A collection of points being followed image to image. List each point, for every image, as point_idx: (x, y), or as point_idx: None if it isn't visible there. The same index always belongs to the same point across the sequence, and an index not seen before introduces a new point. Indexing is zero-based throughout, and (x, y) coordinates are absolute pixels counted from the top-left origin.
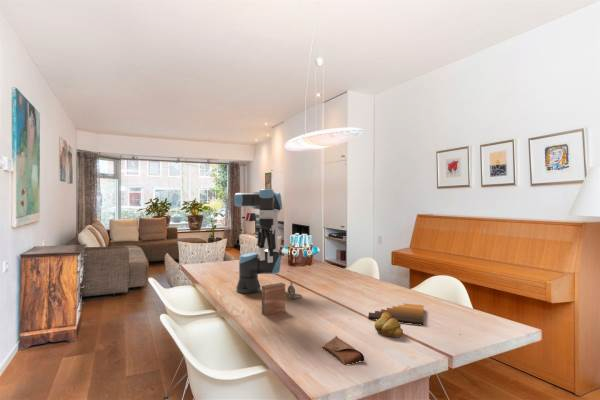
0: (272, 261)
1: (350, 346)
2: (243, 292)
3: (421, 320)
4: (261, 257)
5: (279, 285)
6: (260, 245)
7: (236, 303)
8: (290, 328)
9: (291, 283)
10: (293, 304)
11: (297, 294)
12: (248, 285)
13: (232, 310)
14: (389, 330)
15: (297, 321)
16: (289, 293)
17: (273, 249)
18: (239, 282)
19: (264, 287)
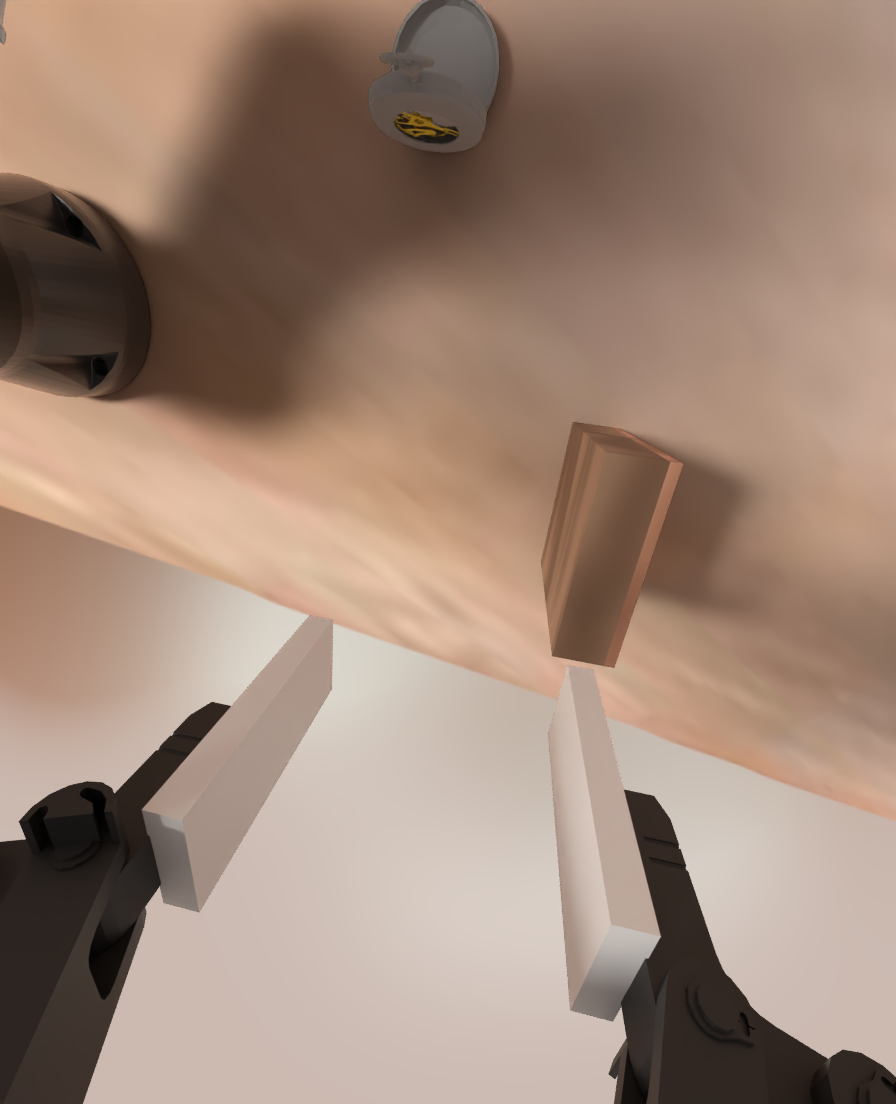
0: (593, 684)
1: None
2: (123, 384)
3: None
4: (309, 709)
5: (658, 533)
6: (110, 1009)
7: (297, 544)
8: (842, 615)
9: (412, 67)
10: (572, 272)
11: (416, 11)
12: (86, 348)
13: (389, 626)
14: None
15: (820, 517)
16: (413, 140)
17: (766, 1023)
18: (10, 382)
19: (595, 662)
